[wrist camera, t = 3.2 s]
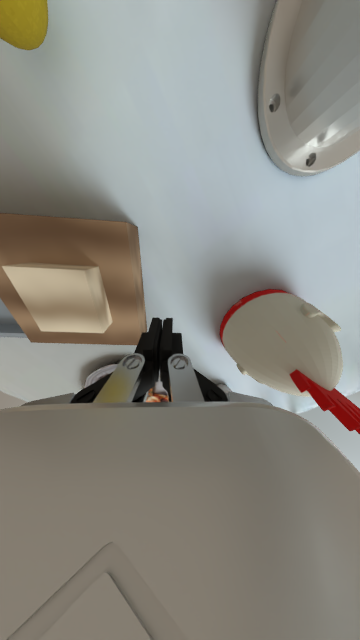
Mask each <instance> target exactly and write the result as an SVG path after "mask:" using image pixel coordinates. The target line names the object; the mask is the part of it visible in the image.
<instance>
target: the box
mask: <svg viewBox="0 0 360 640" xmlns="http://www.w3.org/2000/svg"><path fill="white" fill-rule="evenodd" d="M0 337H20V338H28V337H27V336H26V334H25V333H24V332H23V330H22V329H21V327H20V326H19V324H18V323H17V321H16V320H15V319H14V317H13V316H12V314H11V313H10V311H9V310H8V309H7V307H6V306H5V304H4V303H3V301H2V300H1V298H0Z"/></svg>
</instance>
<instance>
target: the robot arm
mask: <svg viewBox="0 0 360 640" xmlns="http://www.w3.org/2000/svg"><path fill="white" fill-rule="evenodd" d="M258 118H259V124H260V131H261V136H262V139H263V142H264V145H265V148H266V151H267V152H268V154H269V156H270V158H271V159H272V161H273V162H274V163H275V164H276V165H277V166H278V167H279V168H280V169H281V170H283V171H284V172H286V173H288V174H290V175H295V176H301V177H302V176H311V175H316V174H318V173H321V172H324V171H327V170H329V169H331V168H333V167H334V166H336V165H338V164H341V163H342V162H344V161H345V160H347V159H348V158H350V157H351V156H353V155H354V154H356V153H357V152H358V151H360V0H277V1H276V4H275V7H274V11H273V14H272V17H271V21H270V24H269V27H268V31H267V34H266V39H265V44H264V49H263V54H262V59H261V64H260V74H259V84H258ZM172 322H173V318H166V320H164V321H163V328H162V320H160V318H153V319H152V322H151V325H150V328H149V331H148V332H143V333H142V334H141V337H140V339H139V342H138V345H137V347H136V350H135V353H133V354H129V355H127V356H125V357H124V358H123V359H122V360H121V361H120V363H119V364H118V366H117V367H116V369H115V370H114V371H113V372H112V373H110V374H108V375H107V376H105V377H103V378H101V379H100V380H98V381H96V382H94V383H93V384H91V385H89V386H88V387H86V388H84V389H82V390H81V391H80V392H78V393H77V394H74V393H69V394H65V395H60V396H55V397H50V398H45V399H40V400H36V401H31V402H28V403H25V404H24V405H22V406H19V407H12V408H5V409H0V640H360V472H359V471H358V470H357V469H356V468H355V467H354V466H353V464H352V463H351V462H350V461H349V460H348V459H347V458H346V456H345V455H344V454H343V453H342V452H341V451H340V450H339V449H338V448H337V447H336V445H335V444H334V443H333V442H332V441H331V440H330V439H329V438H328V437H327V436H326V435H325V434H324V433H323V432H322V431H321V430H319V429H318V428H317V427H316V426H314V425H313V424H312V423H310V422H309V421H307V420H306V419H304V418H302V417H300V416H298V415H296V414H294V413H292V412H289V411H287V410H284V409H281V408H278V407H275V406H273V405H272V404H271V403H269V402H268V401H266V400H264V399H262V398H257V397H253V396H248V395H243V394H239V393H234V392H230V391H229V392H228V393H226V392H224V391H223V390H222V389H221V388H219V387H218V386H217V385H215V384H214V383H213V382H211V381H210V380H208V379H207V378H206V377H204V376H203V375H202V374H200V373H199V372H197V371H196V370H195V369H193V366H192V363H191V361H190V359H189V358H188V357H187V356H186V355H184V354H183V347H182V335H181V333H172ZM159 371H160V382H162V387H163V388H164V389H165V390H166V391H167V392H168V402H146V399H147V396H148V391H149V390H150V389H151V388H152V387H155V382H158V379H159Z"/></svg>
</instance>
